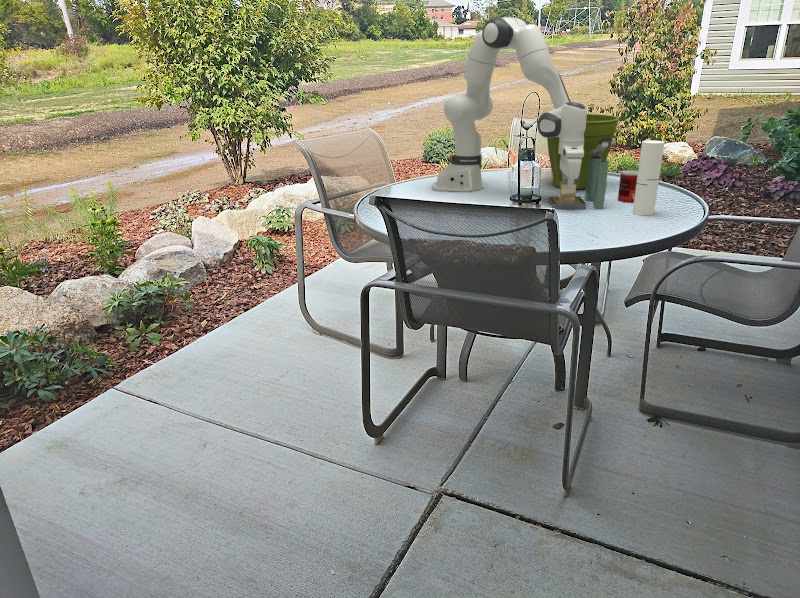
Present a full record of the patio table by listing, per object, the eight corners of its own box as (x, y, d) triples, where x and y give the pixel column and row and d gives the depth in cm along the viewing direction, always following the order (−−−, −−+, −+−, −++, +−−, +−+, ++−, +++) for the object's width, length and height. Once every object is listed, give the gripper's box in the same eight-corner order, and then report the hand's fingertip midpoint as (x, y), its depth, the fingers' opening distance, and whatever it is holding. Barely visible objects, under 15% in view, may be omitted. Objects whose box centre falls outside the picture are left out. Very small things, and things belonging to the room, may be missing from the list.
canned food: (639, 198, 231) (643, 170, 227) (637, 203, 225) (641, 174, 221) (618, 197, 235) (622, 169, 230) (616, 201, 228) (619, 173, 224)
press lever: (589, 158, 226) (589, 149, 226) (599, 158, 226) (600, 149, 226) (600, 147, 210) (600, 138, 210) (611, 147, 210) (611, 137, 210)
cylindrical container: (655, 215, 207) (666, 143, 198) (634, 215, 209) (643, 143, 199) (651, 210, 214) (662, 140, 204) (631, 210, 215) (640, 140, 206)
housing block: (574, 200, 221) (576, 184, 219) (561, 200, 221) (562, 184, 219) (572, 197, 226) (573, 182, 223) (559, 197, 226) (560, 182, 224)
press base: (552, 209, 219) (556, 163, 213) (546, 198, 235) (549, 155, 228) (605, 209, 218) (610, 162, 211) (594, 198, 233) (599, 155, 227)
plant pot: (542, 178, 274) (546, 113, 263) (609, 180, 266) (617, 113, 255) (538, 191, 247) (543, 120, 236) (612, 194, 240) (621, 121, 229)
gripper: (557, 144, 226) (554, 180, 232) (567, 153, 207) (563, 192, 213) (574, 144, 226) (570, 180, 231) (585, 153, 207) (581, 192, 212)
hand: (567, 186), depth 222 cm, fingers open, 8 cm apart
